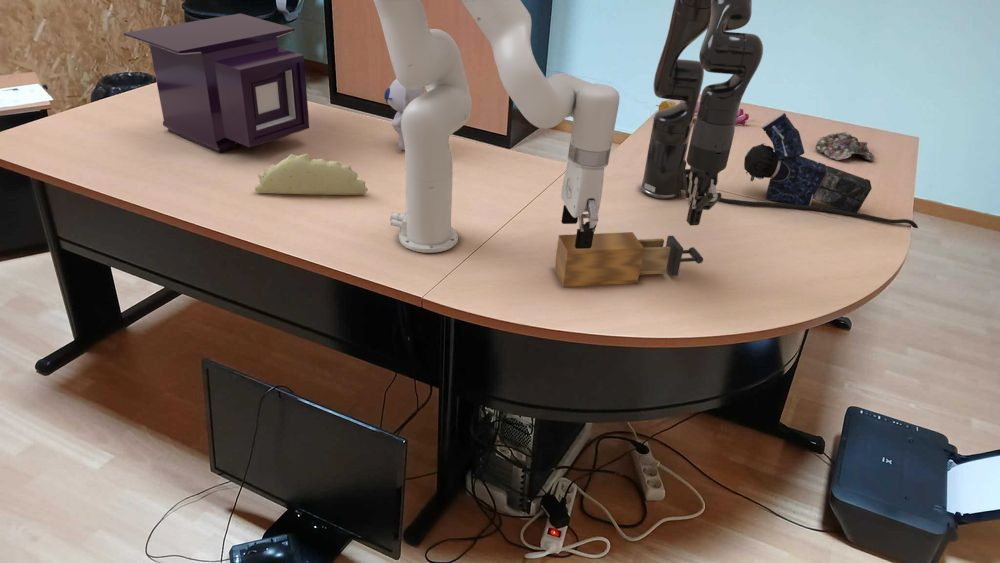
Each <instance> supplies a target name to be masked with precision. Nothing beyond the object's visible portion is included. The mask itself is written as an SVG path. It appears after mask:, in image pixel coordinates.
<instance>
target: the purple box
mask: <svg viewBox="0 0 1000 563" xmlns="http://www.w3.org/2000/svg"><path fill="white" fill-rule="evenodd" d="M294 31H295V28H294V27H292V26H287V25H283V24H279V23H276V22H272V21H269V20H264V19H262V18H259V17H256V16H255V17H254V16H252V15H247V14H244V13H235V14H230V15H224V16H217V17H212V18H205V19H200V20H194V21H188V22H181V23H175V24H169V25H163V26H157V27H151V28H146V29H145V28H144V29H139V30H134V31H128V32H123V36H125V37H127V38H130V39H133V40H136V41H138V42H142V43H145V44H148V45H149V50H150V54H151V60H152V66H153V71H154V75H155V76H154V77H155V82H156V87H157V92H158V97H159V102H160V107H161V113H162V118H163V122H162V126H163V127H165V128H166V129H167V131H168V132H170V133H172V134H175V135H177V136H179V137H182V138H184V139H187V140H189V141H191V142H193V143H196V144H197V145H200V146H203V147H205V148H207V149H209V150H212V151H215V152H217V153H219V154H220V153H224V152H227V151H229V150H233V149H235V148H237V144H240V145H242V146H245V147H247V148H249V149H250V148H253V147H256V146H259V145H262V144H266V143H269V142H271V141H275V140H278V139H281V138H285V137H287V136H289V135H293V134H296V133H300V132H302V131H305V130H308V129H310V118H309V105H308V94H307V93H308V92H307V80H306V79H307V78H306V68H305V56H304V54H303V53H302V54H301V53H297V52H296V51H295V52H294V51H291V50H288V49H285V48H282V47H279V44H278V40H277V38H280V37H282V36H286V35H287V34H291V33H292V32H294Z"/></svg>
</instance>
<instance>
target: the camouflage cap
mask: <svg viewBox="0 0 1000 563" xmlns="http://www.w3.org/2000/svg"><path fill="white" fill-rule="evenodd" d="M815 150H816V151H817V152H818V153H824V155H825V156H827V157H828V158H830V159H832V160H835V161H839V160H840V161H841V160H844V159H848V158H851V157H852V155H853V154H854V155H857V154H859V155H860V156H861V158H863V159H865V160H866V161H871V162H874V160H875V159H874V158H875V155H874V154H873V153H872V152H871V151H870V149H869V147H868V142H867V141H859V139H858V137H855V136H853V135H852V134H851V133H849V132H848V131H846V132H844V131H843V132H836V133H830V134H827V135H826V136H822V137H820V138H819V140H818V141H817V142H816V144H815ZM873 157H874V158H873Z"/></svg>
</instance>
